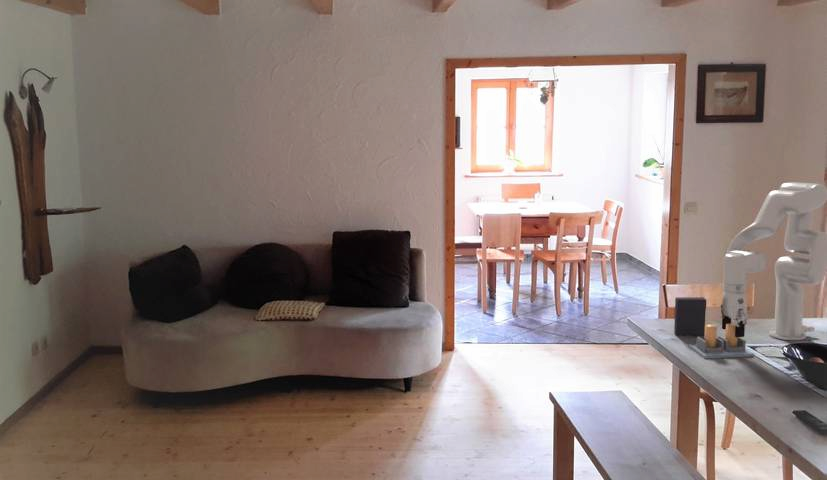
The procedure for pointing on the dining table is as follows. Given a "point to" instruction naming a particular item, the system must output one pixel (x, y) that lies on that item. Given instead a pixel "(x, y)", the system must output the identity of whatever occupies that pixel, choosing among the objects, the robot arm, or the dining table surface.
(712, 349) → the housing
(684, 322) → the dark grey slab
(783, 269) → the robot arm
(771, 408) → the dining table surface
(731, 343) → the tan capsule rod
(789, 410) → the dining table surface
